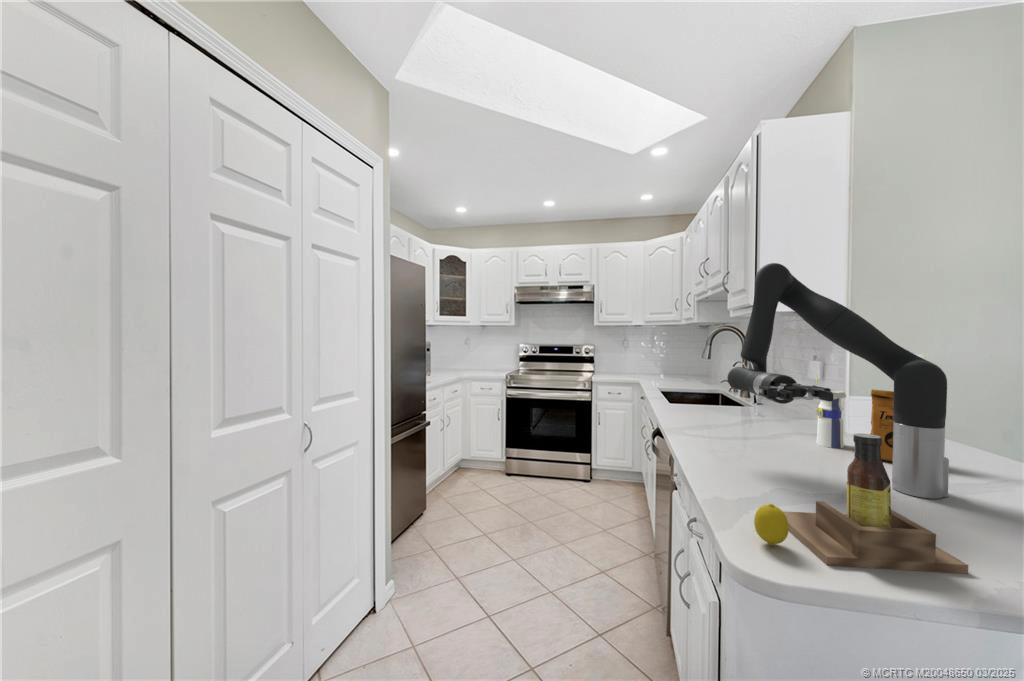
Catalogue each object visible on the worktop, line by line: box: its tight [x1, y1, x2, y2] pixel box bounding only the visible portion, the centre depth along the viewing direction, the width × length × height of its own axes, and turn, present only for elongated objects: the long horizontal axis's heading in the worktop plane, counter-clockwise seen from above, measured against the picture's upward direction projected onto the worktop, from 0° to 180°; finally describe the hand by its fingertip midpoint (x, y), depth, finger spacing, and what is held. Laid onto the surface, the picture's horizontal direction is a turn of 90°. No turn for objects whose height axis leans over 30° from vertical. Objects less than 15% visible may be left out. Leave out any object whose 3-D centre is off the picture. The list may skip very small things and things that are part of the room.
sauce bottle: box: [846, 432, 892, 528], centre depth 76 cm, size 7×6×20 cm
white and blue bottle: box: [815, 373, 847, 449], centre depth 144 cm, size 8×9×25 cm
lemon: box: [753, 503, 789, 546], centre depth 78 cm, size 6×6×8 cm
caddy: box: [782, 500, 969, 575], centre depth 79 cm, size 22×18×6 cm
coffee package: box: [870, 388, 894, 463], centre depth 127 cm, size 10×12×22 cm
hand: (811, 396), depth 94 cm, fingers open, 8 cm apart
